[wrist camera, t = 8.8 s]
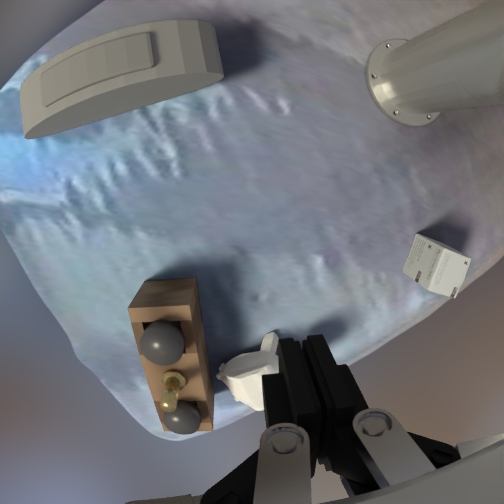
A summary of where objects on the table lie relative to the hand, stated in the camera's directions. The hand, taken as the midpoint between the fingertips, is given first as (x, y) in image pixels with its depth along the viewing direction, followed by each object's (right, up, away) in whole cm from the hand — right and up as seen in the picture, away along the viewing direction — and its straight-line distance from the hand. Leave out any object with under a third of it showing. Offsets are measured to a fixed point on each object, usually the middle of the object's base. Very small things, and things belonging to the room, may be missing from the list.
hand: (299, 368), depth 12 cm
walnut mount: (-12, -9, +32) cm, 35 cm away
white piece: (+1, -11, +34) cm, 36 cm away
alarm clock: (-17, +24, +22) cm, 37 cm away
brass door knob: (-11, -11, +24) cm, 29 cm away
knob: (-12, -3, +29) cm, 32 cm away
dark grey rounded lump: (-11, -15, +33) cm, 38 cm away
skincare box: (+23, +4, +31) cm, 39 cm away
